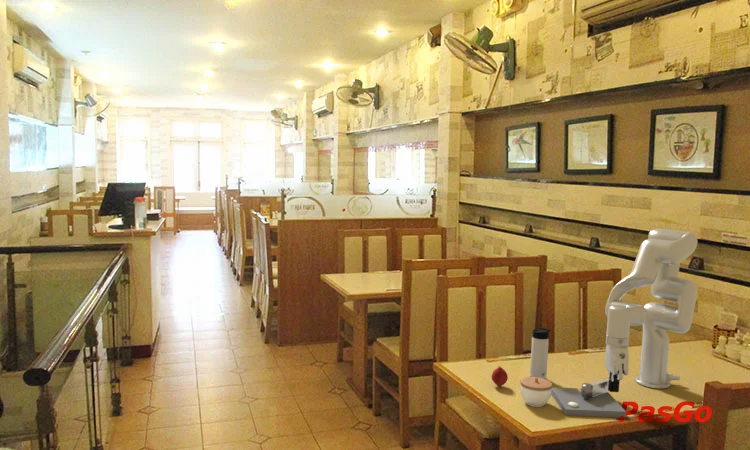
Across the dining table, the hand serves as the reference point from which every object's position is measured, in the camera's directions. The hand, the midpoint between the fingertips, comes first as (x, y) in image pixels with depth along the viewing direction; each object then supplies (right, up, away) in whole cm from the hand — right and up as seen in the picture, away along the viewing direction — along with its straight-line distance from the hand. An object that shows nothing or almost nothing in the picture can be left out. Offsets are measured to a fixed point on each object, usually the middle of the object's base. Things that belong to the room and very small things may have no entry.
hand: (613, 391), depth 217 cm
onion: (-38, -2, +12) cm, 40 cm away
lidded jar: (-28, -4, -3) cm, 29 cm away
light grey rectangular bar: (-6, -2, +1) cm, 6 cm away
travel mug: (-21, -1, +22) cm, 30 cm away
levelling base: (-10, -4, -2) cm, 11 cm away
